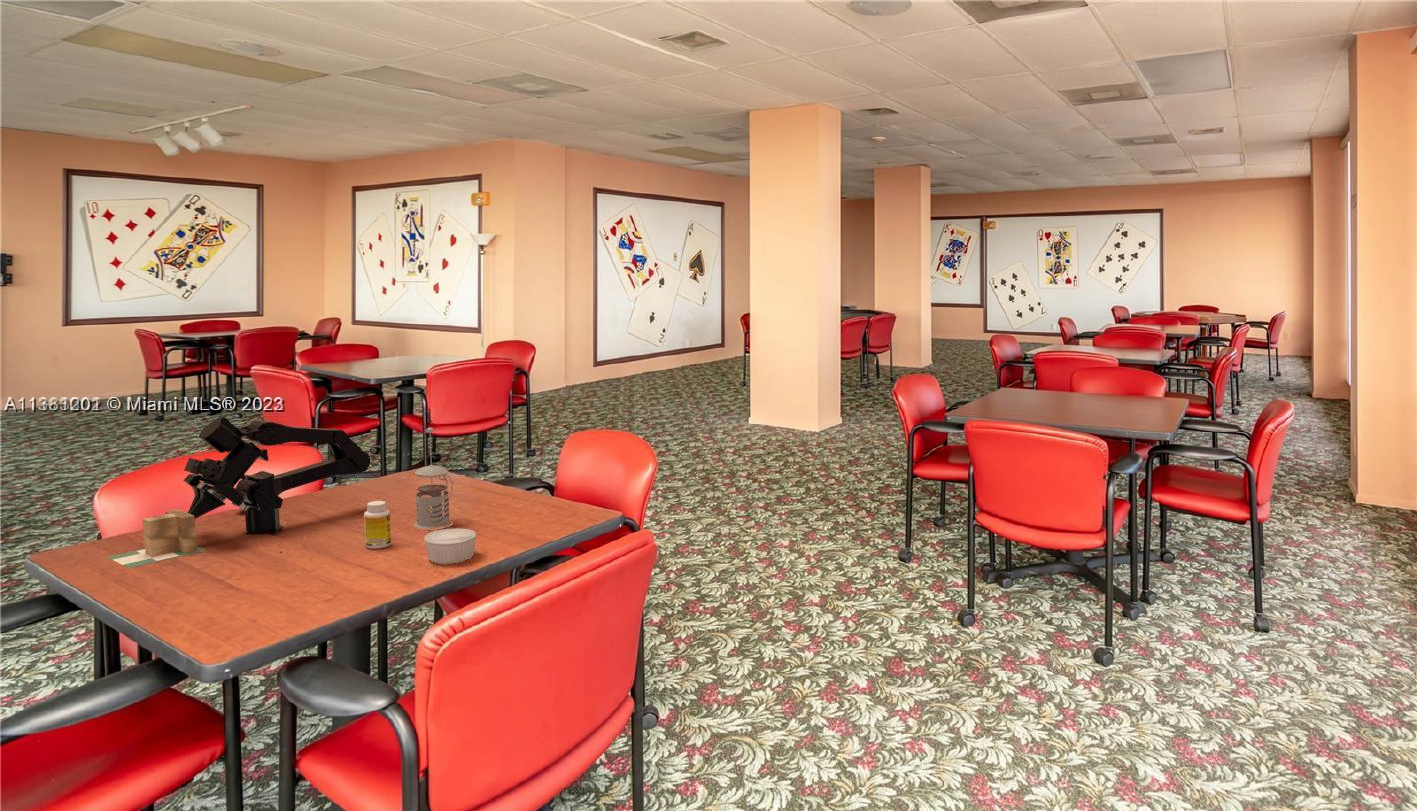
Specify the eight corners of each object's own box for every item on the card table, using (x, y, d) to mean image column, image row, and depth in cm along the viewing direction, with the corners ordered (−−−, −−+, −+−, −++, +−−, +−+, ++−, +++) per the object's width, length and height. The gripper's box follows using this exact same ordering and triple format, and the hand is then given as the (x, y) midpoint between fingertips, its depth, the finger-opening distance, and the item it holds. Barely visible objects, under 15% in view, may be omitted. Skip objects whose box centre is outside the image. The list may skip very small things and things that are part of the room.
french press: (404, 528, 208) (400, 429, 205) (435, 516, 219) (432, 422, 215) (436, 532, 205) (432, 431, 201) (466, 520, 215) (463, 424, 212)
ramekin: (448, 569, 178) (447, 545, 177) (413, 560, 184) (412, 537, 183) (488, 556, 187) (487, 533, 187) (453, 547, 193) (452, 525, 192)
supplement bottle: (392, 547, 192) (390, 504, 191) (366, 550, 190) (364, 507, 189) (390, 541, 197) (388, 498, 196) (364, 544, 195) (362, 501, 193)
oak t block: (180, 542, 193) (177, 509, 192) (197, 550, 188) (194, 515, 187) (140, 551, 187) (137, 516, 186) (157, 559, 181) (154, 523, 180)
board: (184, 542, 195) (184, 540, 195) (207, 552, 188) (207, 549, 188) (106, 558, 183) (106, 556, 183) (128, 570, 176) (128, 567, 176)
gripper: (190, 439, 197) (140, 493, 190) (226, 448, 186) (175, 506, 179) (227, 467, 205) (181, 520, 197) (264, 477, 194) (217, 534, 186)
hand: (187, 519), depth 190 cm, fingers closed, pressing on oak t block
